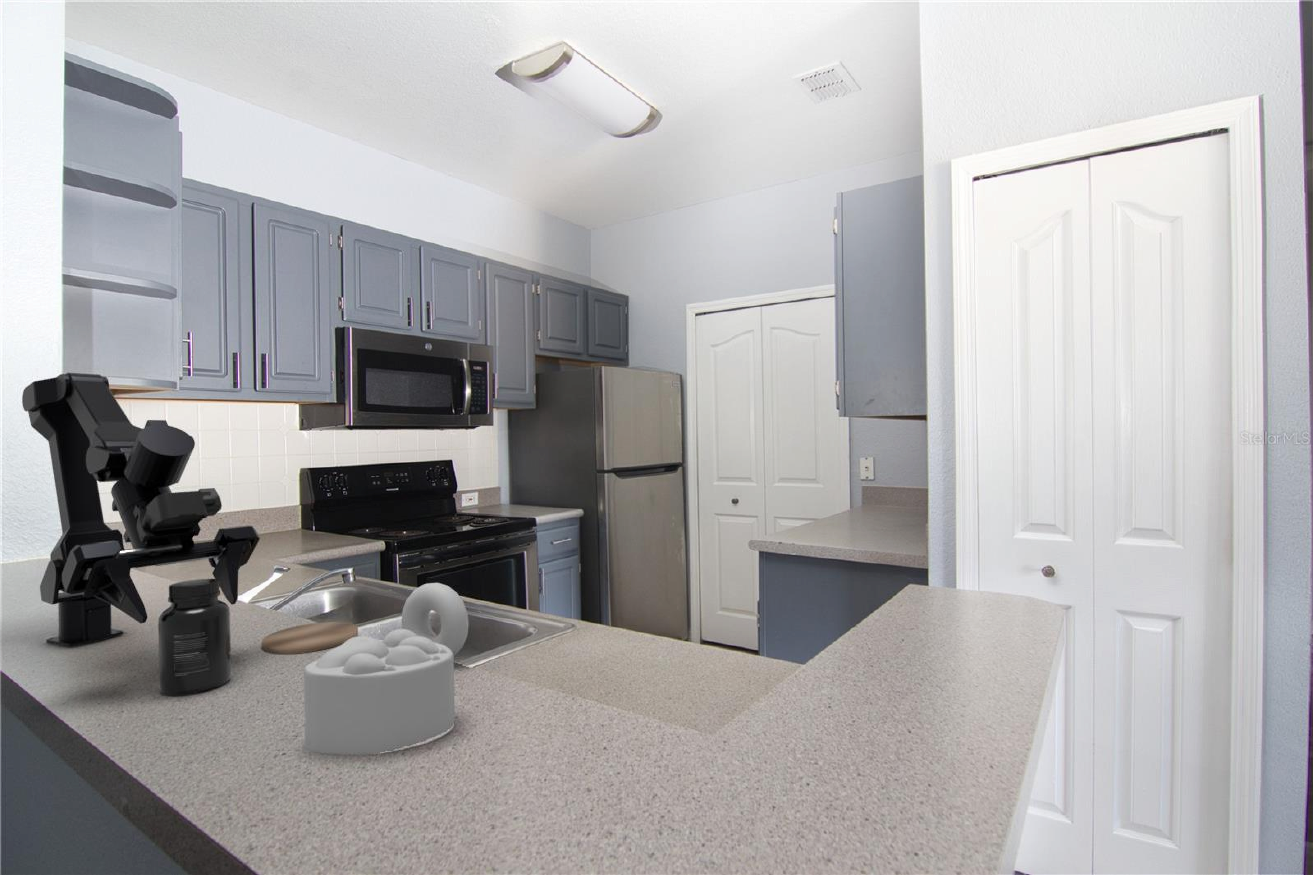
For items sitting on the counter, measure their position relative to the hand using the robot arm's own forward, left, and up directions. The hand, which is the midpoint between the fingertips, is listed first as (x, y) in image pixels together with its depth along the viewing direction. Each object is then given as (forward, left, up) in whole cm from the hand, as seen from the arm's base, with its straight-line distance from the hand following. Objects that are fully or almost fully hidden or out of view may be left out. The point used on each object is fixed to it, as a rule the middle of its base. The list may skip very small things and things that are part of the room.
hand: (192, 611), depth 75 cm
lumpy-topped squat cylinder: (+31, -1, -9) cm, 32 cm away
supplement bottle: (+1, 0, -9) cm, 9 cm away
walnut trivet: (-1, +17, -8) cm, 19 cm away
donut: (+22, +16, -9) cm, 28 cm away
